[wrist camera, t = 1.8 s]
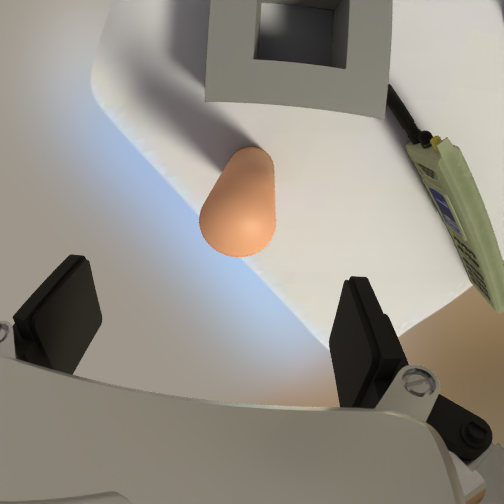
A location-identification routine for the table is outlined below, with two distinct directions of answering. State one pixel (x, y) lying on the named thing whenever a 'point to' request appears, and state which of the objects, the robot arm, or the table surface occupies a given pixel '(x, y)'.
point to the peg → (241, 205)
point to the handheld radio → (456, 203)
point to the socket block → (299, 74)
